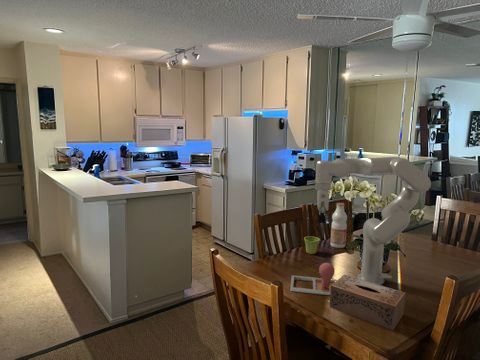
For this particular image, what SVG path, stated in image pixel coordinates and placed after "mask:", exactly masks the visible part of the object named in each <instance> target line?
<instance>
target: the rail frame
mask: <svg viewBox="0 0 480 360" xmlns="http://www.w3.org/2000/svg"><path fill="white" fill-rule="evenodd" d="M296 280H297V281H306V282H312V288H304V287H295V286H294V284H295V283H294V282H295V281H296ZM337 280H338V279H333V278H331V281H330V286H329V287H323V286H322V277H320V278H319V277H313V276H312V277H311V276H302V275H291V279H290V292H296V293H303V294H304V293H305V294H314V295H322V296H323V295H324V296H330V292H331V285H332V284H333V283H335V282H336V281H337Z"/></svg>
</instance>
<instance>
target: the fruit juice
mask: <svg viewBox="0 0 480 360" xmlns="http://www.w3.org/2000/svg"><path fill="white" fill-rule="evenodd" d="M331 218H332V221H331V229H330V246H331V247H332V248H337V249H345V247H346V244H347V243H346V241H347V229H348V228H347V227H348V224H347V220H348V216H347V214H346V212H345V203H344V202H336V209H335V211H334V212H333V214H332V216H331Z"/></svg>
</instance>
